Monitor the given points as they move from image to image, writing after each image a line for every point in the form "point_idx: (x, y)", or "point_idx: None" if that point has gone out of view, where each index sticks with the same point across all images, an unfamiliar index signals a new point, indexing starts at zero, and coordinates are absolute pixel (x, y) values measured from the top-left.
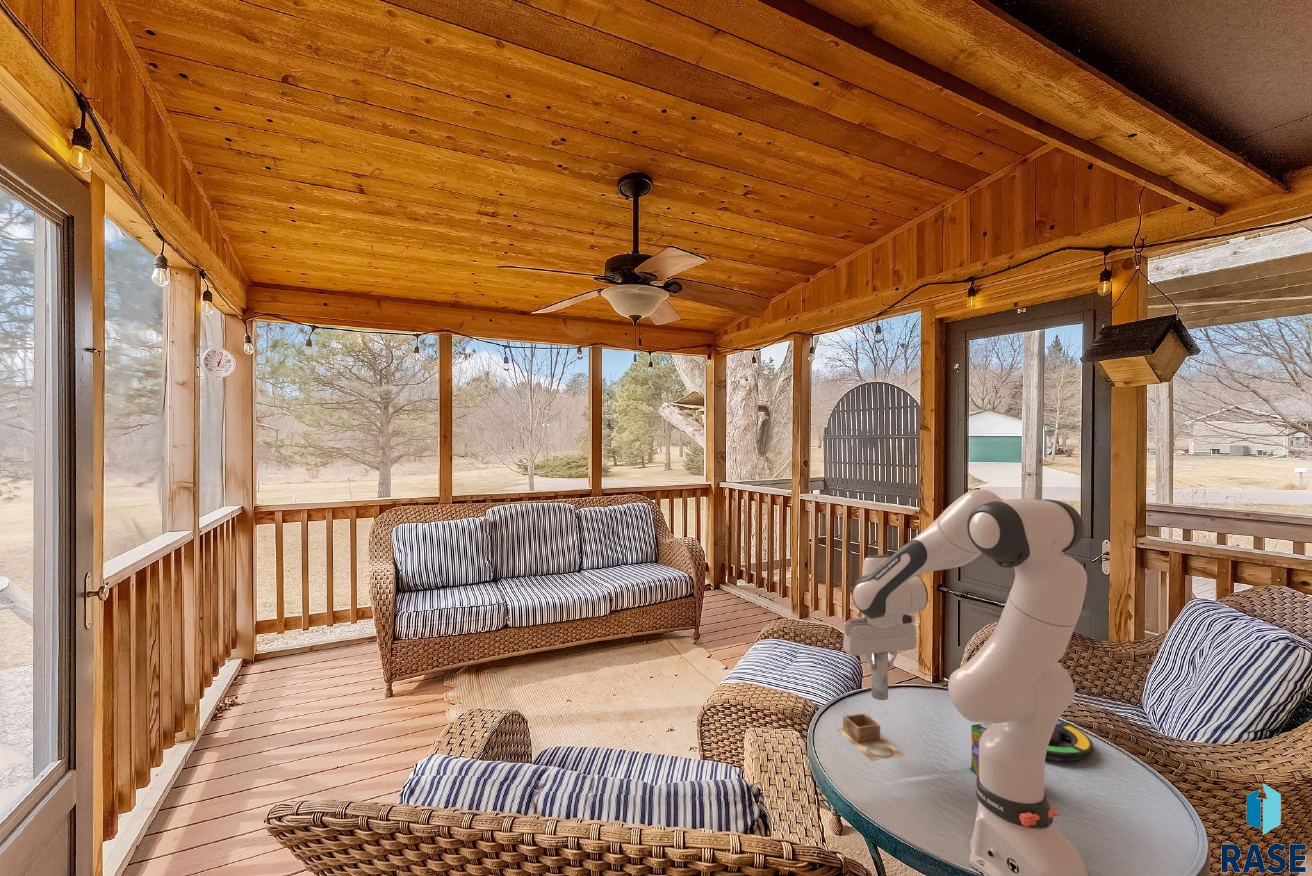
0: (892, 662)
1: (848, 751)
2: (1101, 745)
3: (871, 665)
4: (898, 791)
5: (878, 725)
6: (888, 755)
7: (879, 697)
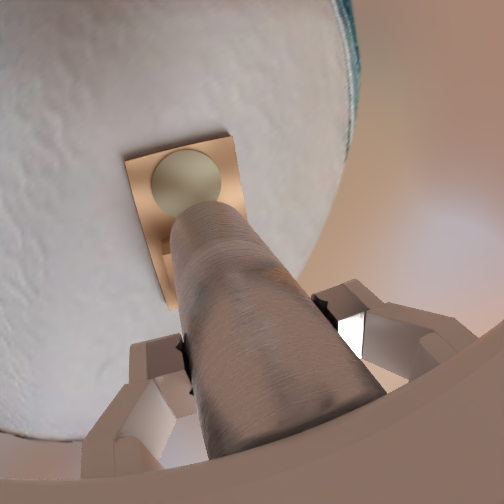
0: (137, 372)
1: (262, 196)
2: None
3: (369, 296)
4: (217, 24)
5: (168, 254)
6: (174, 154)
7: (230, 208)
